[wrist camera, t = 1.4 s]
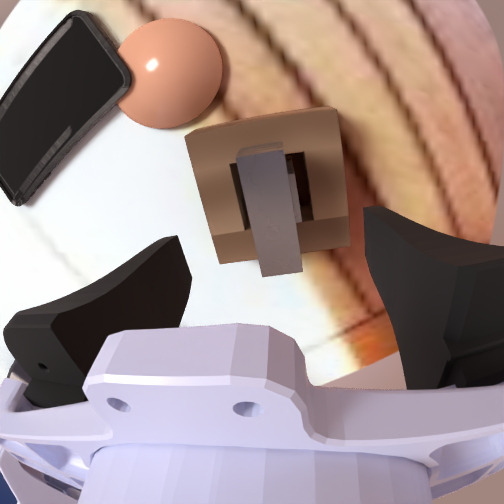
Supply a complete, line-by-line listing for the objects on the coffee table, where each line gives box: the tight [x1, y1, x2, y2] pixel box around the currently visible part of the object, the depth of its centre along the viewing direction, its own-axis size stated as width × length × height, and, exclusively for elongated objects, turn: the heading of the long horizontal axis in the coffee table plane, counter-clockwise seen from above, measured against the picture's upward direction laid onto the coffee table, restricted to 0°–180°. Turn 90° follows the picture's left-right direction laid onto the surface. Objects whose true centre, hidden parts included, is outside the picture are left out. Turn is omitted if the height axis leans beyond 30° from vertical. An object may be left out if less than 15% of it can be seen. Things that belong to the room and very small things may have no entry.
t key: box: [236, 141, 303, 277], centre depth 17 cm, size 6×3×6 cm, turn 12°
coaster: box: [117, 18, 223, 129], centre depth 16 cm, size 7×7×1 cm
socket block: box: [184, 106, 351, 264], centre depth 18 cm, size 8×8×2 cm
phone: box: [0, 10, 132, 206], centre depth 17 cm, size 8×1×15 cm
